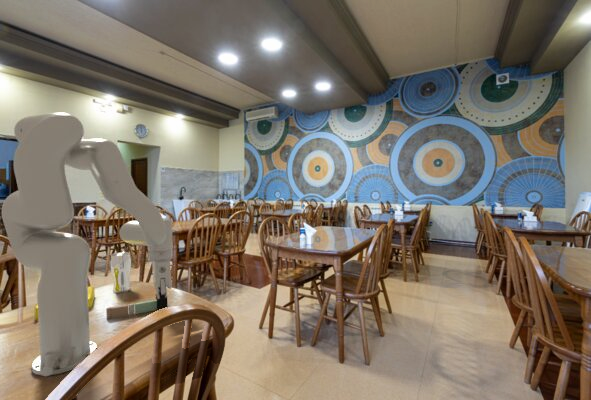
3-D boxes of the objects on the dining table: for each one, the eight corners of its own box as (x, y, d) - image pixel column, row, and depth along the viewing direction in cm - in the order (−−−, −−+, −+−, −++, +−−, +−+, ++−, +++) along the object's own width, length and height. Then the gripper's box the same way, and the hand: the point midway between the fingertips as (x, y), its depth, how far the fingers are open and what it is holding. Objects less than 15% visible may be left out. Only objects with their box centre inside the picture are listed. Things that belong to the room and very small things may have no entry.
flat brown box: (172, 317, 92) (172, 306, 92) (102, 330, 83) (102, 318, 83) (169, 296, 109) (169, 286, 109) (111, 305, 100) (110, 295, 100)
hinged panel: (135, 315, 92) (134, 298, 92) (135, 311, 94) (134, 295, 94) (166, 309, 96) (166, 293, 96) (166, 305, 99) (165, 290, 99)
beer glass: (107, 291, 112) (106, 255, 112) (123, 286, 119) (122, 251, 118) (119, 294, 110) (118, 256, 109) (135, 288, 116) (134, 252, 115)
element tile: (91, 311, 97) (91, 297, 96) (33, 322, 89) (32, 307, 88) (95, 296, 109) (94, 284, 109) (44, 304, 101) (43, 291, 101)
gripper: (176, 258, 91) (176, 314, 92) (169, 248, 105) (170, 296, 106) (149, 262, 87) (151, 319, 88) (146, 250, 101) (147, 300, 102)
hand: (161, 306), depth 97 cm, fingers closed on hinged panel, 3 cm apart
